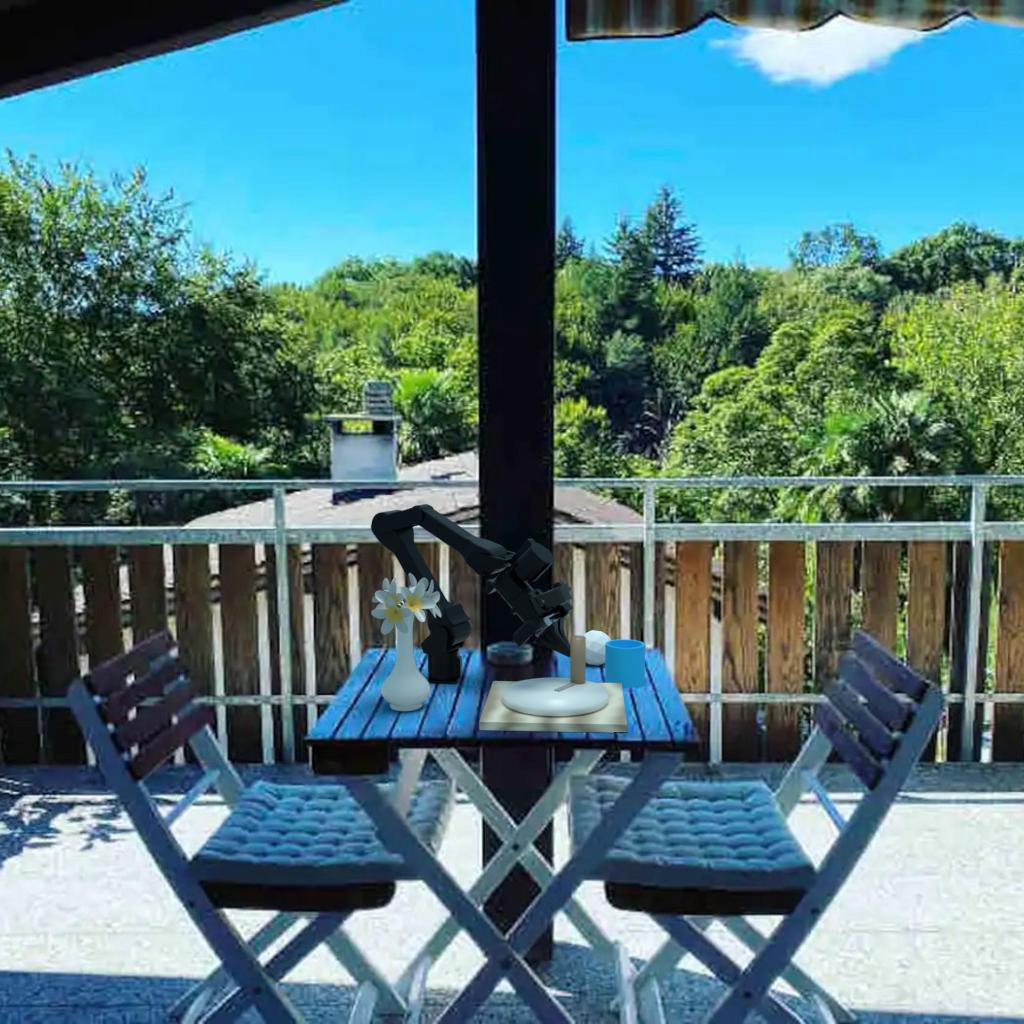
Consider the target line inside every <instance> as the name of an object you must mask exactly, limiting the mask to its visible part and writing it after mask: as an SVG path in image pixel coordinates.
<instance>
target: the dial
mask: <svg viewBox="0 0 1024 1024" xmlns="http://www.w3.org/2000/svg"><path fill="white" fill-rule="evenodd" d="M569 639H570V641H569V644H570V657H569V658H570V660H569V663H570V664H569V665H570V667H569V669H570V670H569V673H570V674H569V675H570V676H569V677H558V676H557V677H553V676H552V677H551V676H549V677H536V678H530V679H527V678H526V679H523V680H518V682H515V683H512V684H510V685H508V686H506V687H505V688H504V689H503V691H502V701H503V703H504V705H506V706H507V707H509V708H510V709H513V710H515V711H518V712H522V713H527V714H533V715H541V716H573V715H581V714H586V713H590V712H594V711H597V710H599V709H601V708H603V707H605V706H606V705H607V703H608V691H607V689H606V688H604V687H603V686H601V685H599V684H596V683H597V682H592V681H590V680H587V679H586V675H587V673H586V672H587V671H586V668H587V666H586V665H587V663H586V637H585V636H583V635H571V636H570V637H569Z"/></svg>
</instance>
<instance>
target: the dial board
mask: <svg viewBox="0 0 1024 1024" xmlns="http://www.w3.org/2000/svg"><path fill="white" fill-rule="evenodd" d="M518 681H519V680H518ZM518 681H516V680H515V681H514V680H513V681H510V680H509V681H508V680H506V681H505V680H499V681H498V680H493V681H492V684H491V686H490V689H489V691H488V696H487V698H486V701H485V704H484V707H483V710H482V712H481V713H482V714H481V716H480V720H479V723H478V724H479V727H478V728H479V731H504V732H505V731H506V732H507V731H508V732H509V731H512V732H515V731H516V732H557V733H558V732H561V733H565V732H566V733H569V732H570V733H613V734H615V733H614V732H627V733H628V721H627V713H626V706H625V699H624V692H623V688H622V684H621V683H606V682H595V683H596V684H599V685H601V686H603V687H604V688H606V689H607V691H608V703H607V705H606V706H605V707H603V708H601V709H599V710H597V711H594V712H590V713H586V714H581V715H573V716H541V715H533V714H527V713H522V712H518V711H515V710H513V709H510V708H509V707H507V706H506V705H504V703H503V701H502V691H503V689H504V688H505V687H506V686H508V685H510V684H512V683H515V682H518Z"/></svg>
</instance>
